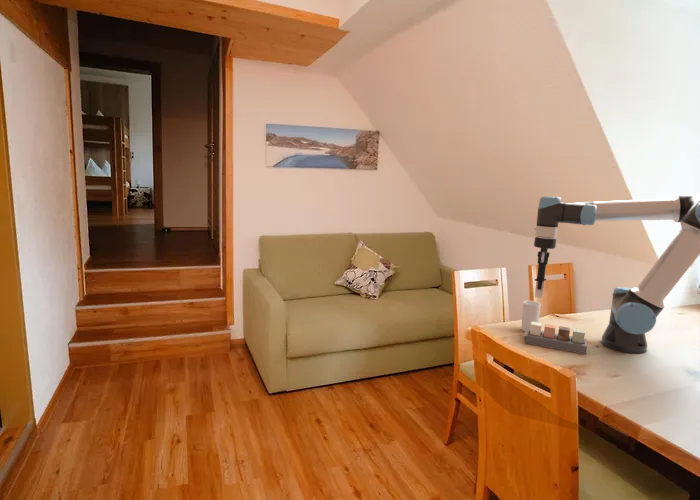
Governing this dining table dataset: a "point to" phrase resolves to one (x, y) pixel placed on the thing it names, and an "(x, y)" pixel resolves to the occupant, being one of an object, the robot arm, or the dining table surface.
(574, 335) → the key sage
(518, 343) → the dining table surface
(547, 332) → the key terracotta
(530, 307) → the mug
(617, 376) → the dining table surface
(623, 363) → the dining table surface
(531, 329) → the key ivory
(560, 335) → the key walnut
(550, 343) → the grey slotted rack
